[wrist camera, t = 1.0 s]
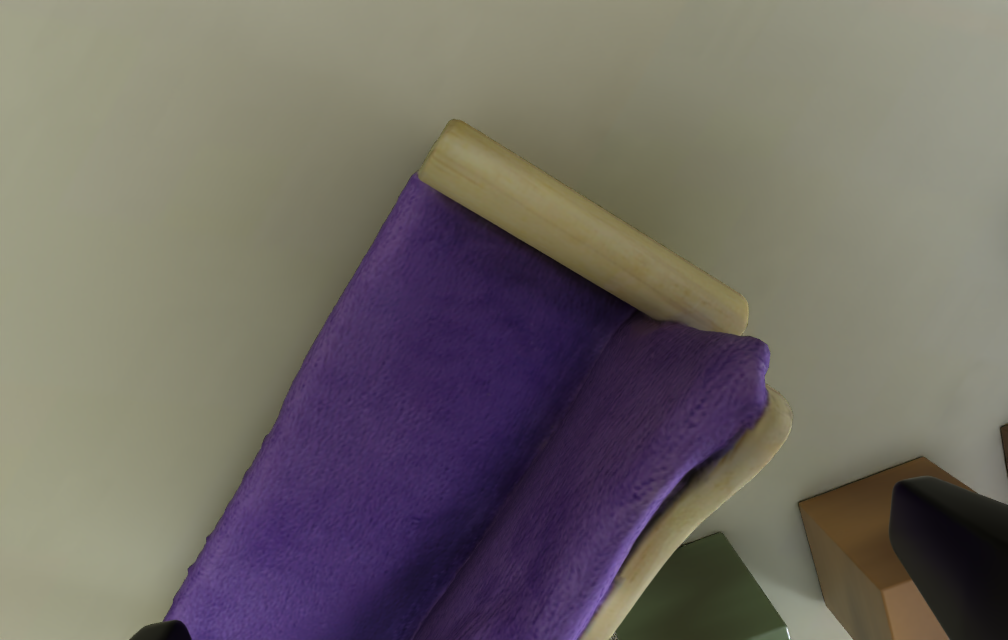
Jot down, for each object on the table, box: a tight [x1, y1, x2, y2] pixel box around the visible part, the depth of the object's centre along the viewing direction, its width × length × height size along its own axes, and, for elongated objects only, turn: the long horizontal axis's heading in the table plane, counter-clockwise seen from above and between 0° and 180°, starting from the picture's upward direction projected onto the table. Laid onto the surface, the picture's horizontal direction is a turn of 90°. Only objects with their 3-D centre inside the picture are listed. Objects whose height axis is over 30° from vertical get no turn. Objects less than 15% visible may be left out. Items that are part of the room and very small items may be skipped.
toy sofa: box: [163, 119, 793, 640], centre depth 18 cm, size 21×9×10 cm, turn 149°
